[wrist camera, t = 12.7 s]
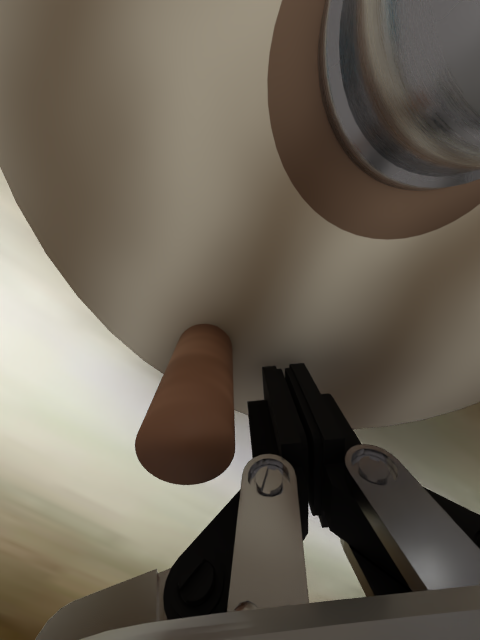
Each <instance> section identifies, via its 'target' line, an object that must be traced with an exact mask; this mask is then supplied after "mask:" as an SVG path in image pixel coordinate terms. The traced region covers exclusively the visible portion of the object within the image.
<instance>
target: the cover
mask: <svg viewBox="0 0 480 640" xmlns="http://www.w3.org/2000/svg"><path fill="white" fill-rule="evenodd" d="M318 72H319V85H320V90H321V96H322V101H323V106H324V109H325V112H326V116H327V119H328V122H329V124H330V127H331V129H332V131H333V133H334V136H335V138H336V139H337V141H338V143H339V144H340V146H341V147H342V149H343V151H344V152H345V153H346V155H347V156H348V157H349V158H350V159H351V161H352V162H353V163H354V164H355V165H356V166H357V167H359V168H360V169H361V170H362V171H363V172H364V173H365V174H367V175H369V176H370V177H372V178H373V179H375V180H376V181H378V182H381V183H383V184H386V185H388V186H390V187H394V188H398V189H403V190H412V191H424V190H435V189H440V188H446V187H451V186H456V185H461V184H466V183H469V182H472V181H475V180H478V179H480V0H326V1H325V5H324V10H323V14H322V19H321V26H320V34H319V44H318Z"/></svg>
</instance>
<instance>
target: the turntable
mask: <svg viewBox="0 0 480 640" xmlns="http://www.w3.org/2000/svg"><path fill="white" fill-rule="evenodd" d="M325 1H326V0H0V167H1V169H2V172H3V174H4V176H5V178H6V180H7V183H8V185H9V187H10V189H11V192H12V194H13V196H14V198H15V200H16V203H17V204H18V206H19V208H20V210H21V211H22V213H23V215H24V216H25V218H26V220H27V222H28V223H29V225H30V227H31V228H32V230H33V232H34V234H35V235H36V237H37V239H38V240H39V242H40V244H41V246H42V247H43V249H44V251H45V252H46V254H47V255H48V257H49V258H50V259H51V261H52V262H53V264H54V265H55V266H56V268H57V269H58V270H59V272H60V273H61V274H62V276H63V277H64V278H65V280H66V281H67V283H68V284H69V285H70V287H71V288H72V289H73V291H74V292H75V293H76V295H77V296H78V297H79V298H80V299H81V300H82V302H83V303H84V304H85V305H86V306H87V307H88V308H89V309H90V310H91V311H92V312H93V313H94V315H95V316H96V317H97V318H98V319H99V320H100V321H101V322H102V323H103V324H104V325H105V326H106V328H107V329H108V330H109V331H110V332H111V333H112V334H114V335H115V336H116V337H117V338H118V339H119V340H121V341H122V342H123V343H124V344H125V345H126V346H128V347H129V348H130V349H131V350H132V351H133V352H134V353H136V354H137V355H138V356H139V357H140V358H141V359H143V360H144V361H145V362H147V363H148V364H150V365H151V366H153V367H154V368H156V369H157V370H158V371H160V372H161V373H163V374H164V375H163V377H162V379H161V382H160V384H159V386H158V389H157V391H156V393H155V395H154V398H153V400H152V402H151V404H150V407H149V409H148V411H147V413H146V416H145V418H144V420H143V423H142V425H141V427H140V429H139V432H138V434H137V437H136V441H135V450H136V454H137V457H138V459H139V461H140V463H141V464H142V466H143V467H144V468H145V469H146V470H147V471H148V472H149V473H151V474H152V475H153V476H155V477H157V478H159V479H161V480H163V481H166V482H169V483H173V484H180V485H193V484H200V483H204V482H207V481H209V480H212V479H214V478H216V477H217V476H219V475H220V474H222V473H223V472H224V471H225V470H226V469H227V468H228V467H229V465H230V463H231V462H232V460H233V457H234V453H235V426H234V410H236V411H239V412H241V413H244V414H246V415H248V405H247V401H257V400H264V391H263V376H262V367H265V366H276V368H277V369H282V372H283V374H284V377H285V368H289V365H290V364H295V363H304V364H305V366H306V368H307V369H308V371H309V373H310V375H311V377H312V378H313V380H314V382H315V384H316V386H317V388H318V389H319V391H320V393H321V394H327V393H329V394H331V395H332V397H333V398H334V400H335V401H336V403H337V405H338V406H339V408H340V410H341V411H342V413H343V415H344V416H345V418H346V420H347V421H348V423H349V424H350V426H351V428H352V429H360V428H373V427H385V426H392V425H398V424H403V423H409V422H414V421H420V420H425V419H428V418H432V417H435V416H439V415H442V414H446V413H449V412H453V411H456V410H460V409H463V408H465V407H468V406H470V405H473V404H476V403H478V402H480V179H478V180H475V181H472V182H469V183H466V184H461V185H456V186H451V187H446V188H440V189H435V190H424V191H412V190H403V189H398V188H394V187H390V186H388V185H386V184H383V183H381V182H378V181H376V180H375V179H373V178H372V177H370V176H369V175H367V174H365V173H364V172H363V171H362V170H361V169H360V168H359V167H357V166H356V165H355V164H354V163H353V162H352V161H351V159H350V158H349V157H348V156H347V155H346V153H345V152H344V151H343V149H342V147H341V146H340V144H339V143H338V141H337V139H336V138H335V136H334V133H333V131H332V129H331V127H330V124H329V122H328V119H327V116H326V112H325V109H324V106H323V101H322V96H321V90H320V85H319V72H318V44H319V34H320V26H321V19H322V14H323V10H324V5H325Z"/></svg>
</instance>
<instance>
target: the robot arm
mask: <svg viewBox="0 0 480 640" xmlns="http://www.w3.org/2000/svg"><path fill="white" fill-rule="evenodd" d="M262 376H263V391H264V400H257V401H247V405H248V415H249V426H250V436H251V445H252V455H253V459H252V460H250V461H249V462H248V463H247V465H246V466H245V468H244V471H243V474H242V481H241V489H240V491H239V492H238V493H237V494H236V495H235V496H234V497H233V498H232V499H231V500H230V502H229V503H228V504H227V505H226V506H225V507H224V508H223V509H222V510H221V512H220V513H219V514H218V515H217V516H216V517H215V518H214V519H213V520H212V521H211V523H210V524H209V525H208V526H207V527H206V528H205V529H204V530H203V531H202V533H201V534H200V535H199V536H198V537H197V538H196V539H195V540H194V541H193V542H192V544H191V545H190V546H189V547H188V548H187V549H186V550H185V551H184V552H183V554H182V555H181V556H180V557H179V558H178V559H177V561H176V562H175V563H174V565H173V566H172V568H170V569H168V570H165V571H163V572H160V573H158V571H157V569H155V570H152V571H150V572H147V573H145V574H142V575H140V576H137V577H134V578H132V579H129V580H127V581H124V582H121V583H119V584H116V585H114V586H111V587H109V588H106V589H103V590H101V591H98V592H96V593H93V594H90V595H88V596H85V597H83V598H80V599H78V600H75V601H73V602H71V603H69V604H68V605H66V606H64V607H62V608H61V609H60V610H59V611H58V612H57V613H56V614H55V615H53V616H52V617H51V618H50V619H49V620H48V621H47V623H46V624H45V626H44V627H43V629H42V630H41V632H40V633H39V634H38V636H37V637H36V640H480V515H478V514H476V513H474V512H472V511H470V510H468V509H466V508H464V507H462V506H460V505H458V504H456V503H454V502H452V501H450V500H448V499H446V498H444V497H442V496H440V495H438V494H436V493H434V492H432V491H430V490H428V489H426V488H424V487H422V486H421V485H420V483H419V482H418V481H417V480H416V479H415V478H414V477H413V476H412V475H411V474H410V473H409V471H408V470H407V469H406V468H405V467H404V466H403V465H402V464H401V463H400V462H399V461H398V459H396V458H395V457H394V456H393V455H392V454H391V453H389V452H387V451H386V450H384V449H382V448H379V447H377V446H374V445H367V444H361V443H360V441H359V439H358V438H357V436H356V434H355V433H354V431H353V429H352V428H351V426H350V424H349V423H348V421H347V420H346V418H345V416H344V415H343V413H342V411H341V410H340V408H339V406H338V405H337V403H336V401H335V400H334V398H333V397H332V395H331V394H329V393H327V394H321V393H320V391H319V389H318V388H317V386H316V384H315V382H314V380H313V378H312V377H311V375H310V373H309V371H308V369H307V368H306V366H305V364H304V363H295V364H290V365H289V368H285V377H284V374H283V372H282V369H277V368H276V366H265V367H262ZM308 502H309V506H310V509H311V512H312V515H313V516H316V515H318V516H319V519H320V522H321V526H322V528H324V527H329V529H330V531H332V532H333V533H334V534H336V535H337V536H338V537H340V541H341V544H342V547H343V550H344V552H345V554H346V556H347V558H348V560H349V562H350V564H351V566H352V568H353V570H354V572H355V574H356V576H357V578H358V580H359V582H360V584H361V587H362V589H363V591H364V593H365V595H366V597H362V598H352V599H343V600H334V601H324V602H315V603H309V599H308V589H307V579H306V569H305V559H304V549H303V540H304V539H305V537H306V535H307V534H308Z"/></svg>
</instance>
